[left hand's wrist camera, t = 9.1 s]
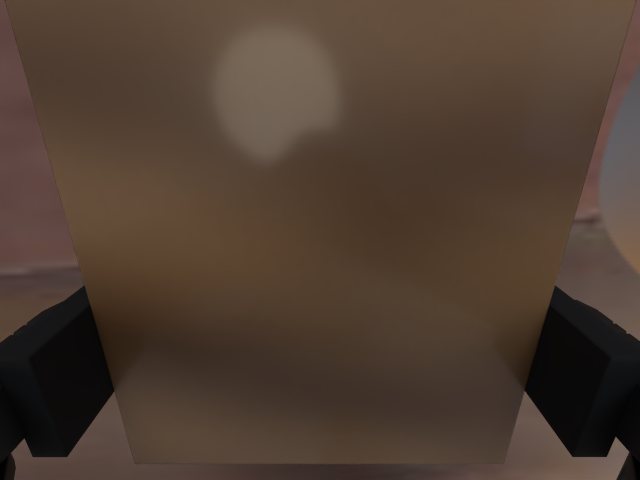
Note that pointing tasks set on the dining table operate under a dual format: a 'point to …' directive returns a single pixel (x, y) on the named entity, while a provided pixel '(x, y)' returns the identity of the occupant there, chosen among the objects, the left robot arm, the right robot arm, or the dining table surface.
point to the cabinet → (319, 211)
